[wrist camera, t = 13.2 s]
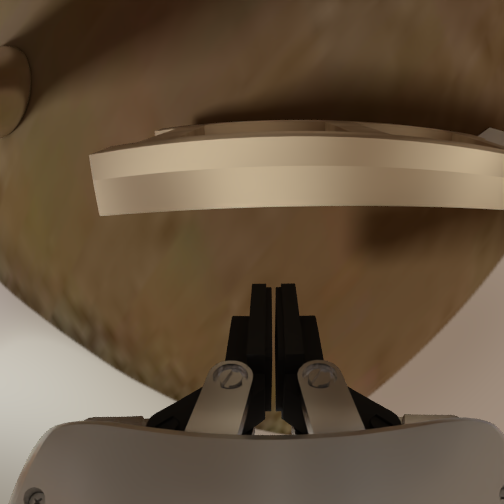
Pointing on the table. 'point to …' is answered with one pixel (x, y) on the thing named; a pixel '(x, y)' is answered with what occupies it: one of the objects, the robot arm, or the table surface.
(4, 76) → the beer glass
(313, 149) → the gate
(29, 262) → the table surface
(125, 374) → the table surface
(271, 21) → the table surface
